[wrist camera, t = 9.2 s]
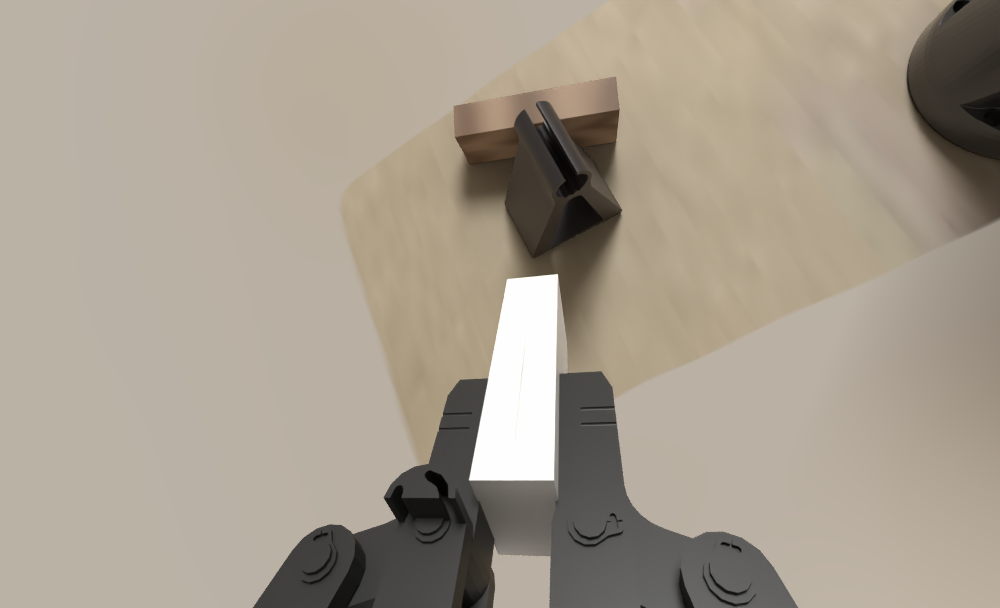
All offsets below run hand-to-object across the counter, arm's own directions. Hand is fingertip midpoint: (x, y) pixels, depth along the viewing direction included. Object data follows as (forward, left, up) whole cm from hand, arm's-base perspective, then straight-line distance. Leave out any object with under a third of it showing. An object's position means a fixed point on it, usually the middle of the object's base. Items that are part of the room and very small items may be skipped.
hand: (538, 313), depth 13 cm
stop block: (+1, -21, -25) cm, 33 cm away
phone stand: (0, -14, -25) cm, 29 cm away
